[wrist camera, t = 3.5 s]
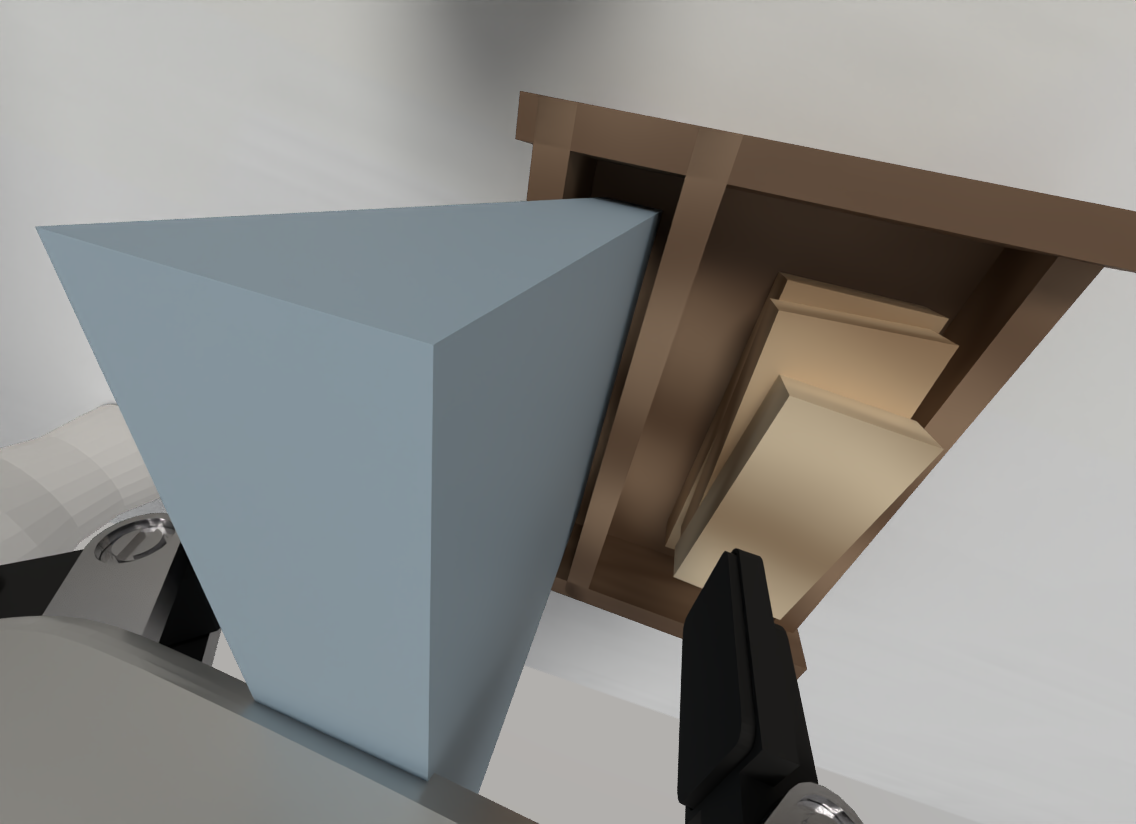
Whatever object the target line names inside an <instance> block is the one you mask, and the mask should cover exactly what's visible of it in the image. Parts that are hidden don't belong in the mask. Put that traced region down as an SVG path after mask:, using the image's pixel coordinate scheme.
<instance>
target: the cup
mask: <svg viewBox="0 0 1136 824" xmlns="http://www.w3.org/2000/svg"><path fill="white" fill-rule="evenodd" d="M159 498H160V495H159V493H158V491H157V489H156V487H155V485H154V482H153V480H152V478H151V476H150V474H149V472H148V469H147V467H146V465H145V463H144V461H143V459H142V456H141V454H140V452H139V450H138V448H137V446H136V443H135V441H134V439H133V437H132V435H131V433H130V431H129V428H128V426H127V424H126V422H125V420H124V418H123V415H122V413H121V411H120V409H119V407H118V405H110V404H107V405H104V406H100V407H98V408H96V409H94V410H92V411H90V412H88V413H85V414H83V415H81V416H79V417H77V418H75V419H73V420H72V421H70V422H68V423H66V424H64V425H62V426H60V427H58V428H57V429H55V430H53V431H51V432H49V433H47V434H45V435H43V436H41V437H39V438H35V439H32V440H28V441H25V442H21V443H17V444H14V445H10V446H6V447H3V448H0V565H4V564H10V563H15V562H20V561H25V560H31V559H36V558H41V557H46V556H52V555H57V554H62V553H67V552H73V550H74V549H75V548H76V547H77V545H78V544H79V543H80V542H81V541H82V540H84V539H85V538H87V537H88V536H90V535H91V534H92V533H94V532H95V531H97V530H98V529H100V528H101V527H102V526H104V525H105V524H107V523H108V522H110V521H111V520H112V519H114V518H115V517H117V516H118V515H120V514H122V513H125V512H127V511H129V510H132V509H134V508H137V507H139V506H142V505H144V504H146V503H149V502H151V501H154V500H156V499H159Z"/></svg>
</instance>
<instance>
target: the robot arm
mask: <svg viewBox="0 0 1136 824" xmlns="http://www.w3.org/2000/svg"><path fill="white" fill-rule="evenodd" d="M220 633H221V627H220V625H219V623H218V621H217V619H216V616H215V614H214V612H213V610H212V608H211V606H210V603H209V601H208V599H207V597H206V595H205V593H204V590H203V588H202V586H201V584H200V582H199V580H198V578H197V575H196V573H195V571H194V569H193V567H192V565H191V562H190V560H189V558H188V556H187V554H186V552H185V549H184V547H183V545H182V543H181V541H180V539H179V536H178V534H177V532H176V530H175V528H174V526H173V523H172V521H171V519H170V517H169V515H168V514H167V513H150V514H145V515H140V516H135V517H132V518H129V519H127V520H124V521H121V522H119V523H117V524H115V525H113V526H111V527H109V528H107V529H105V530H104V531H102V532H101V533H99V534H98V535H97V536H95V537H94V538H93V539H92V540H91V541H90V543H88V544H87V546H86V547H85V548H84V549H83V550H78V551H73V552H67V553H62V554H57V555H52V556H46V557H41V558H36V559H31V560H25V561H20V562H15V563H10V564H4V565H0V824H538V823H536V822H534V821H532V820H530V819H528V818H526V817H524V816H522V815H520V814H518V813H516V812H514V811H512V810H510V809H508V808H506V807H503V806H501V805H499V804H497V803H495V802H493V801H491V800H489V799H487V798H485V797H483V796H481V795H479V794H477V793H475V792H473V791H471V790H468V789H466V788H464V787H462V786H460V785H458V784H456V783H454V782H452V781H450V780H448V779H446V778H444V777H442V776H440V775H438V774H436V773H434V774H433V775H432V777H431V778H430V780H429V781H428V782H427V781H425V780H423V779H421V778H419V777H417V776H414V775H412V774H410V773H408V772H406V771H404V770H402V769H399V768H397V767H395V766H393V765H391V764H389V763H387V762H384V761H382V760H380V759H378V758H376V757H374V756H372V755H369V754H367V753H365V752H363V751H361V750H359V749H357V748H354V747H352V746H350V745H348V744H346V743H344V742H342V741H339V740H337V739H335V738H333V737H331V736H329V735H327V734H324V733H322V732H320V731H318V730H316V729H314V728H312V727H310V726H307V725H305V724H303V723H301V722H299V721H297V720H295V719H292V718H290V717H288V716H286V715H284V714H282V713H280V712H277V711H275V710H273V709H271V708H269V707H267V706H265V705H262V704H260V703H258V702H256V701H254V699H253V696H252V694H251V692H250V690H249V688H248V686H247V683H244V682H243V681H241V680H238V679H236V678H234V677H232V676H230V675H228V674H226V673H224V672H222V671H219V670H217V669H215V668H213V667H212V664H213V660H214V656H215V652H216V648H217V644H218V640H219V637H220ZM677 791H678V792H677V794H678V800H679V802H680V803H681V804H683V805H685V806H686V809H685V810H686V811H685V812H686V813H685V824H863V822H862V821H861V820H860V818H859V817H858V816H857V814H856V813H855V811H854V810H853V809H852V808H851V807H850V806H849V805H848V804H846V803H845V801H844V800H842V799H841V798H840V797H839V796H838V795H837V794H835V793H833V792H832V791H830V790H829V789H827V788H826V787H824V786H821V785H818V780H817V775H816V770H815V765H814V760H813V755H812V751H811V746H810V741H809V736H808V731H807V726H806V722H805V717H804V712H803V707H802V702H801V697H800V692H799V688H798V683H797V678H796V673H795V668H794V663H793V658H792V654H791V649H790V644H789V639H788V636H787V633H786V631H785V629H784V628H783V627H782V626H780V625H778V624H775V623H774V619H773V614H772V608H771V603H770V597H769V591H768V586H767V580H766V575H765V569H764V564H763V560H762V558H761V557H760V556H758V555H755V554H752V553H749V552H746V551H743V550H741V549H738V548H735V549H733V550H732V552H731V553H730V552H727V551H724V552H723V554H722V555H721V557H720V559H719V560H718V562H717V564H716V566H715V567H714V569H713V571H712V573H711V574H710V576H709V578H708V580H707V581H706V583H705V585H704V587H703V588H702V590H701V592H700V594H699V595H698V597H697V599H696V601H695V602H694V604H693V606H692V608H691V609H690V611H689V613H688V615H687V617H686V619H685V622H684V627H683V641H682V670H681V699H680V728H679V759H678V786H677Z"/></svg>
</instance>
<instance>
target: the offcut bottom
mask: <svg viewBox="0 0 1136 824" xmlns="http://www.w3.org/2000/svg"><path fill="white" fill-rule="evenodd" d="M770 298H771V299H776V300H781V301H787V302H792V303H797V304H802V305H807V306H813V307H818V308H823V309H828V310H833V311H838V312H844V313H849V314H854V315H859V316H864V317H870V318H875V319H880V320H885V321H890V322H895V323H901V324H906V325H911V326H916V327H921V328H927V329H931V330H933V331H934V332H936V333H938V334H939V332H940V331H941V330H942V328H943V327H944V325H945V324H946V322H947V321H948V320H949V319H948V318H946V317H944V316H942V315H940V314H938V313H936V312H934V311H932V310H930V309H928V308H926V307H924V306H921V305H916V304H912V303H908V302H904V301H900V300H895V299H891V298H887V297H883V296H879V295H874V294H870V293H866V292H862V291H858V290H854V289H849V288H845V287H841V286H837V285H833V284H828V283H824V282H820V281H816V280H812V279H807V278H803V277H799V276H795V275H791V274H786V273H782V272H779V273H778V275H777V277H776V279H775V281H774V284H773V286H772V288H771V290H770V293H769V295H768V297H767V299H766V302H765V304H764V306H763V308H762V311H761V313H760V315H759V317H758V320H757V322H756V324H755V326H754V329H753V331H752V333H751V335H750V338H749V340H748V342H747V344H746V347H745V349H744V351H743V353H742V356H741V358H740V360H739V362H738V365H737V367H736V369H735V371H734V374H733V376H732V378H731V380H730V383H729V385H728V387H727V389H726V392H725V394H724V396H723V398H722V401H721V403H720V405H719V407H718V410H717V412H716V414H715V416H714V419H713V421H712V423H711V425H710V428H709V430H708V432H707V434H706V437H705V439H704V441H703V443H702V446H701V448H700V450H699V452H698V454H697V457H696V459H695V461H694V463H693V466H692V468H691V470H690V472H689V475H688V477H687V479H686V481H685V484H684V486H683V488H682V490H681V493H680V495H679V497H678V499H677V502H676V504H675V506H674V508H673V511H672V513H671V515H670V517H669V520H668V522H667V528H666V541H665V546H666V547H669V548H671V549H674V550H675V546H676V544H677V542H678V541H679V539H680V537H681V525H682V523H683V520H684V518H685V515H686V513H687V510H688V507H689V505H690V502H691V500H692V497H693V495H694V492H695V490H696V487H697V484H698V482H699V479H700V477H701V474H702V472H703V469H704V466H705V464H706V461H707V459H708V456H709V454H710V451H711V448H712V446H713V443H714V441H715V438H716V436H717V433H718V430H719V428H720V425H721V423H722V420H723V418H724V415H725V413H726V410H727V407H728V405H729V402H730V400H731V397H732V395H733V392H734V389H735V387H736V384H737V382H738V379H739V377H740V374H741V371H742V369H743V366H744V364H745V361H746V359H747V356H748V353H749V351H750V348H751V346H752V343H753V341H754V338H755V336H756V333H757V330H758V328H759V325H760V323H761V320H762V318H763V315H764V312H765V310H766V307H767V305H768V302H769V300H770Z"/></svg>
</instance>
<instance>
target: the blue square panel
mask: <svg viewBox="0 0 1136 824" xmlns="http://www.w3.org/2000/svg"><path fill="white" fill-rule="evenodd" d="M662 211H663V210H660V209H655V208H651V207H646V206H642V205H638V204H633V203H629V202H624V201H620V200H616V199H611V198H607V197H597V198H578V199H559V200H539V201H520V202H501V203H482V204H462V205H443V206H424V207H405V208H385V209H366V210H347V211H327V212H308V213H289V214H270V215H250V216H231V217H212V218H193V219H173V220H154V221H135V222H116V223H96V224H77V225H58V226H38V227H36V230H37V232H38V234H39V236H40V238H41V240H42V242H43V245H44V247H45V249H46V251H47V253H48V255H49V258H50V260H51V262H52V264H53V266H54V268H55V271H56V273H57V275H58V277H59V279H60V281H61V284H62V286H63V288H64V290H65V292H66V294H67V297H68V299H69V301H70V303H71V305H72V307H73V309H74V312H75V314H76V316H77V318H78V320H79V322H80V325H81V327H82V329H83V331H84V333H85V335H86V338H87V340H88V342H89V344H90V346H91V348H92V351H93V353H94V355H95V357H96V359H97V361H98V364H99V366H100V368H101V370H102V372H103V374H104V376H105V379H106V381H107V383H108V385H109V387H110V389H111V392H112V394H113V396H114V398H115V400H116V402H117V405H118V407H119V409H120V411H121V413H122V415H123V418H124V420H125V422H126V424H127V426H128V428H129V431H130V433H131V435H132V437H133V439H134V441H135V443H136V446H137V448H138V450H139V452H140V454H141V456H142V459H143V461H144V463H145V465H146V467H147V469H148V472H149V474H150V476H151V478H152V480H153V482H154V485H155V487H156V489H157V491H158V493H159V495H160V498H161V500H162V502H163V504H164V506H165V508H166V511H167V513H168V515H169V517H170V519H171V521H172V523H173V526H174V528H175V530H176V532H177V534H178V536H179V539H180V541H181V543H182V545H183V547H184V549H185V552H186V554H187V556H188V558H189V560H190V562H191V565H192V567H193V569H194V571H195V573H196V575H197V578H198V580H199V582H200V584H201V586H202V588H203V590H204V593H205V595H206V597H207V599H208V601H209V603H210V606H211V608H212V610H213V612H214V614H215V616H216V619H217V621H218V623H219V625H220V627H221V629H222V632H223V633H224V636H225V638H226V640H227V642H228V644H229V647H230V649H231V651H232V653H233V655H234V657H235V660H236V662H237V664H238V666H239V668H240V670H241V673H242V675H243V677H244V679H245V681H246V683H247V686H248V688H249V690H250V692H251V694H252V696H253V699H254V701H256V702H258V703H260V704H262V705H265V706H267V707H269V708H271V709H273V710H275V711H277V712H280V713H282V714H284V715H286V716H288V717H290V718H292V719H295V720H297V721H299V722H301V723H303V724H305V725H307V726H310V727H312V728H314V729H316V730H318V731H320V732H322V733H324V734H327V735H329V736H331V737H333V738H335V739H337V740H339V741H342V742H344V743H346V744H348V745H350V746H352V747H354V748H357V749H359V750H361V751H363V752H365V753H367V754H369V755H372V756H374V757H376V758H378V759H380V760H382V761H384V762H387V763H389V764H391V765H393V766H395V767H397V768H399V769H402V770H404V771H406V772H408V773H410V774H412V775H414V776H417V777H419V778H421V779H423V780H425V781H427V782H428V781H429V780H430V778H431V777H432V775H433V774H434V773H436V774H438V775H440V776H442V777H444V778H446V779H448V780H450V781H452V782H454V783H456V784H458V785H460V786H462V787H464V788H466V789H468V790H471V791H473V792H475V793H477V794H478V792H479V790H480V787H481V784H482V781H483V779H484V775H485V773H486V770H487V767H488V765H489V762H490V759H491V756H492V753H493V751H494V748H495V745H496V742H497V739H498V737H499V733H500V731H501V728H502V725H503V723H504V719H505V717H506V714H507V711H508V708H509V706H510V703H511V700H512V697H513V695H514V692H515V688H516V686H517V683H518V681H519V678H520V675H521V672H522V669H523V667H524V664H525V661H526V658H527V655H528V653H529V650H530V647H531V644H532V641H533V639H534V636H535V633H536V630H537V627H538V624H539V622H540V619H541V616H542V613H543V610H544V608H545V605H546V602H547V599H548V596H549V594H550V591H551V588H552V585H553V582H554V580H555V577H556V574H557V571H558V568H559V566H560V563H561V560H562V557H563V554H564V552H565V549H566V546H567V543H568V540H569V538H570V535H571V532H572V529H573V526H574V524H575V521H576V518H577V515H578V512H579V510H580V506H581V502H582V499H583V495H584V492H585V488H586V484H587V481H588V477H589V474H590V470H591V466H592V463H593V459H594V456H595V452H596V448H597V445H598V441H599V438H600V434H601V430H602V427H603V423H604V420H605V416H606V412H607V409H608V405H609V402H610V398H611V394H612V391H613V387H614V384H615V380H616V376H617V373H618V369H619V366H620V362H621V358H622V355H623V351H624V348H625V344H626V340H627V337H628V333H629V330H630V326H631V322H632V319H633V315H634V312H635V308H636V304H637V301H638V297H639V294H640V290H641V286H642V283H643V279H644V275H645V272H646V268H647V265H648V261H649V257H650V254H651V250H652V247H653V243H654V239H655V236H656V232H657V229H658V225H659V221H660V218H661V214H662Z"/></svg>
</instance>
